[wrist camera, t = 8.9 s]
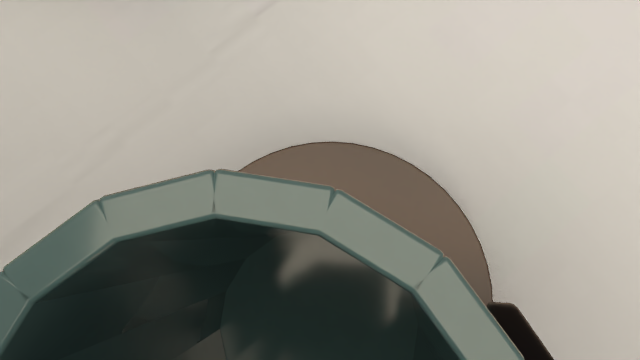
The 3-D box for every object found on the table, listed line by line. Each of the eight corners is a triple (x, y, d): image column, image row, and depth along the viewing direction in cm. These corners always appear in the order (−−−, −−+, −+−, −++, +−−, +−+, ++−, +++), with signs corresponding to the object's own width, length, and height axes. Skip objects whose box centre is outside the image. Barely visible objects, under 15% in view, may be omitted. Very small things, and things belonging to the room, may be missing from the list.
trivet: (528, 426, 19) (531, 431, 18) (210, 494, 19) (207, 499, 19) (444, 109, 20) (445, 107, 19) (146, 184, 21) (142, 183, 20)
